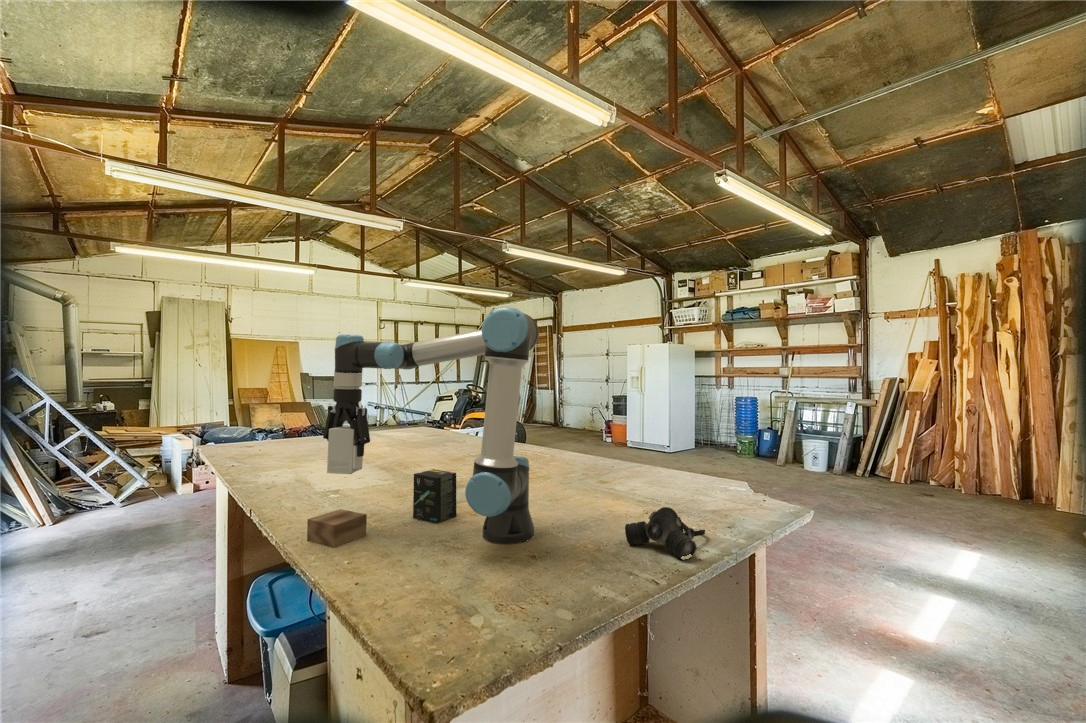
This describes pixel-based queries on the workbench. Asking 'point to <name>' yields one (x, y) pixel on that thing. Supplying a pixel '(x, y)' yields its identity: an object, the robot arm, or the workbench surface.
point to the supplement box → (341, 450)
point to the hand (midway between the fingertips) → (345, 465)
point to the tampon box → (434, 496)
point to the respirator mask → (664, 532)
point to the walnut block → (336, 527)
